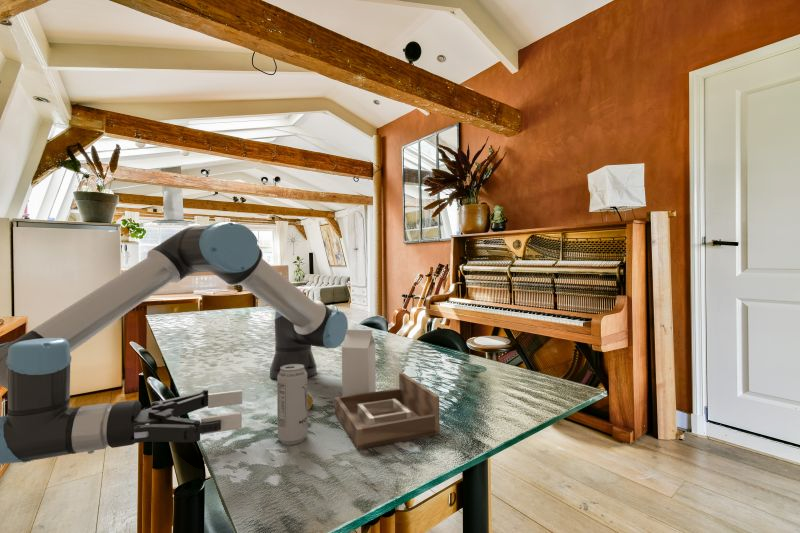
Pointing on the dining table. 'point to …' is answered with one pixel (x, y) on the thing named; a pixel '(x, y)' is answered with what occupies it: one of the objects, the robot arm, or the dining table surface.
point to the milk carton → (358, 363)
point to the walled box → (389, 414)
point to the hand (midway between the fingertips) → (242, 407)
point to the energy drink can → (292, 404)
